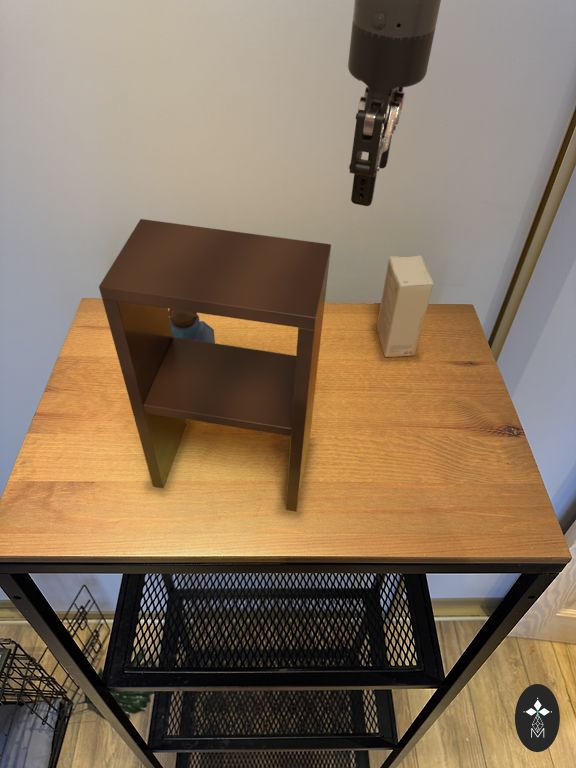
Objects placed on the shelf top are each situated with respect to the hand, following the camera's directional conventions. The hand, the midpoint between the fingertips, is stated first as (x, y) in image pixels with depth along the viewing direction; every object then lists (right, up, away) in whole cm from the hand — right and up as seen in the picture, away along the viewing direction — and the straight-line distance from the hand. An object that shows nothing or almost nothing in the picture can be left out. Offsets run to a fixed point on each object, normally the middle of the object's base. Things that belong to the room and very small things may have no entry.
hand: (369, 183), depth 64 cm
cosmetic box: (+6, -17, +15) cm, 23 cm away
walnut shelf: (-15, -32, +1) cm, 35 cm away
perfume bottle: (-21, -22, +9) cm, 32 cm away
